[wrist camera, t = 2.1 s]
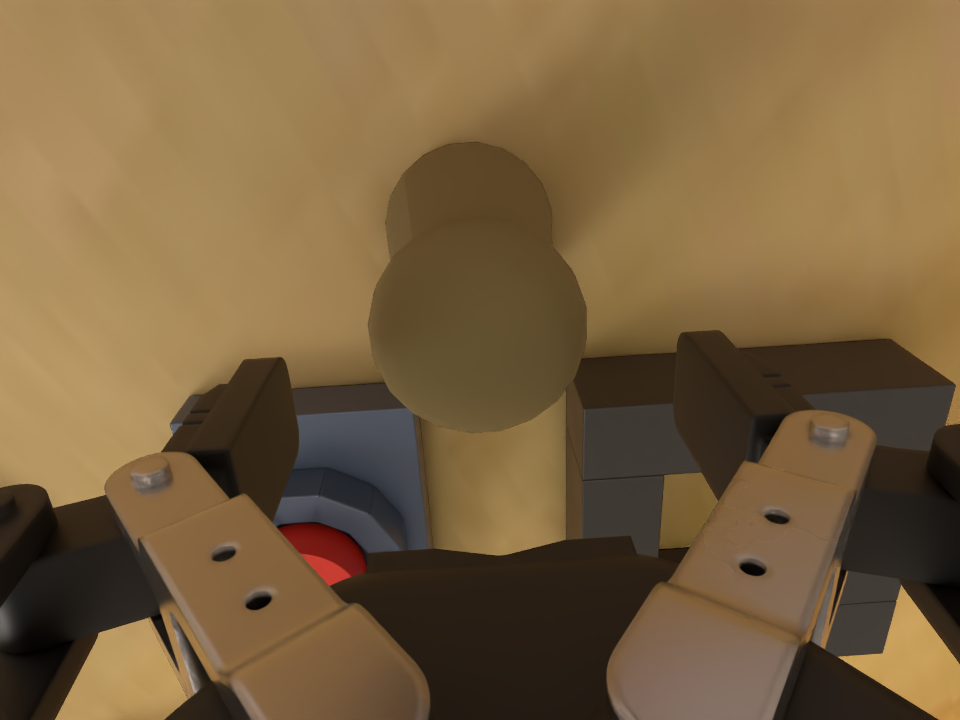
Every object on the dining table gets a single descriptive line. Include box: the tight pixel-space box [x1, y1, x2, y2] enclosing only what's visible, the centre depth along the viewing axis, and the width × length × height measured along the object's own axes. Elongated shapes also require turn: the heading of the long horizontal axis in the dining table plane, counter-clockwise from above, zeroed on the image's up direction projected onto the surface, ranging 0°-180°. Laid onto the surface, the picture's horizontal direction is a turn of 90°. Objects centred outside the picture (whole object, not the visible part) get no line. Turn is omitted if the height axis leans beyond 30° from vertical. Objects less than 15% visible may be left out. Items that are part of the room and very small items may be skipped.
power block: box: [170, 383, 433, 565], centre depth 28 cm, size 12×9×4 cm
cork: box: [368, 142, 587, 433], centre depth 20 cm, size 6×6×11 cm
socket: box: [566, 339, 956, 657], centre depth 28 cm, size 13×13×4 cm
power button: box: [278, 523, 367, 586], centre depth 26 cm, size 4×4×2 cm
